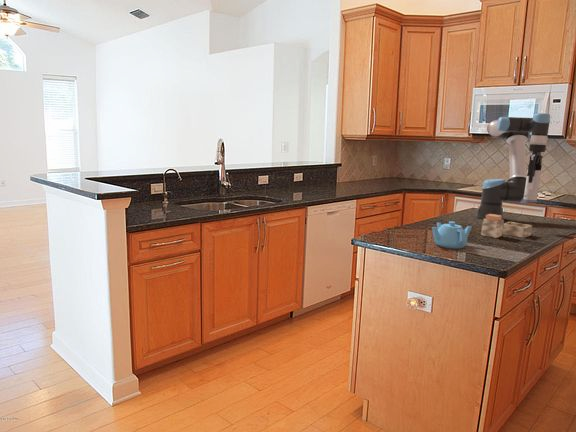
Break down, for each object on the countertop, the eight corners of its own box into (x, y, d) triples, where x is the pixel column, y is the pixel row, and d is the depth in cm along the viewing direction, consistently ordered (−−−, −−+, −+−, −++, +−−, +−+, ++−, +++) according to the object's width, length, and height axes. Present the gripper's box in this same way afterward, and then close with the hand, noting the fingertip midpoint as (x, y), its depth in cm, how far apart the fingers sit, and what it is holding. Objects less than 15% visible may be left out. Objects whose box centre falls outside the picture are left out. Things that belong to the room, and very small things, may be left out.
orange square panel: (485, 220, 228) (485, 215, 228) (489, 219, 232) (490, 213, 232) (496, 222, 224) (497, 216, 224) (501, 221, 228) (501, 215, 228)
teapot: (428, 246, 204) (430, 222, 202) (435, 239, 217) (437, 216, 215) (464, 251, 197) (467, 227, 195) (469, 244, 210) (472, 221, 208)
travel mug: (523, 201, 243) (528, 163, 239) (523, 200, 249) (528, 162, 245) (536, 202, 240) (542, 164, 236) (536, 201, 246) (542, 163, 242)
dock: (480, 235, 230) (482, 219, 228) (497, 229, 245) (499, 214, 244) (515, 241, 218) (517, 225, 217) (530, 235, 234) (533, 219, 233)
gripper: (540, 144, 230) (534, 190, 234) (551, 144, 243) (544, 188, 248) (524, 143, 235) (518, 188, 239) (535, 143, 248) (529, 186, 253)
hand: (531, 188), depth 243 cm, fingers closed on travel mug, 6 cm apart
